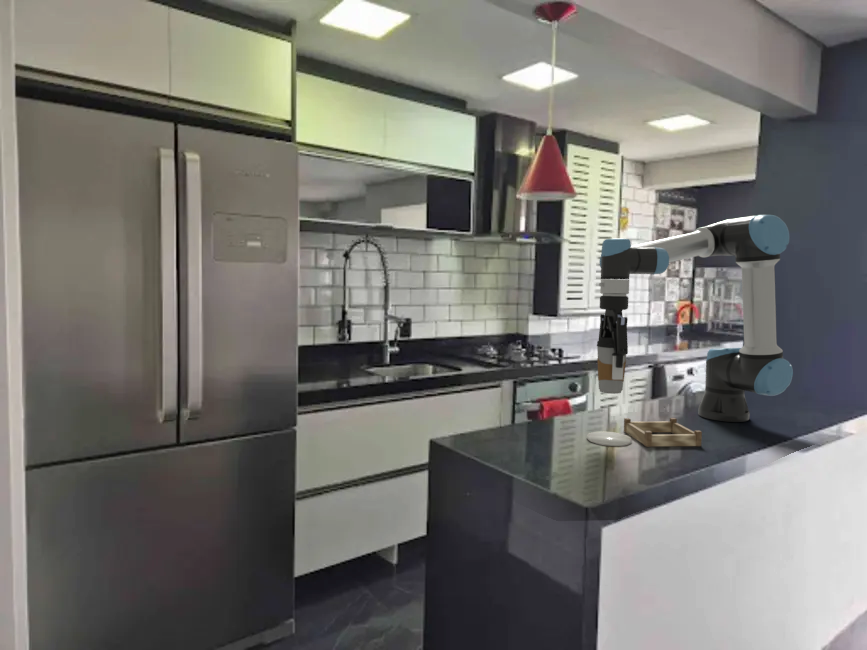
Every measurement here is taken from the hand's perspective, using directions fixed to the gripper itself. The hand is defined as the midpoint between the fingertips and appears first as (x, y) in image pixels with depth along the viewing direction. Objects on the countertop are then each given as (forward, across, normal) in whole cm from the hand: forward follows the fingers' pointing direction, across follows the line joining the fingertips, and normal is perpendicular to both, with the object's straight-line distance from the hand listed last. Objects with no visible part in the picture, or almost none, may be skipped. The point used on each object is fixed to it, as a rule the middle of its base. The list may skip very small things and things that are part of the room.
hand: (611, 376), depth 159 cm
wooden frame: (+18, -1, +16) cm, 24 cm away
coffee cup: (+5, 0, 0) cm, 5 cm away
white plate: (+18, 0, 0) cm, 18 cm away
